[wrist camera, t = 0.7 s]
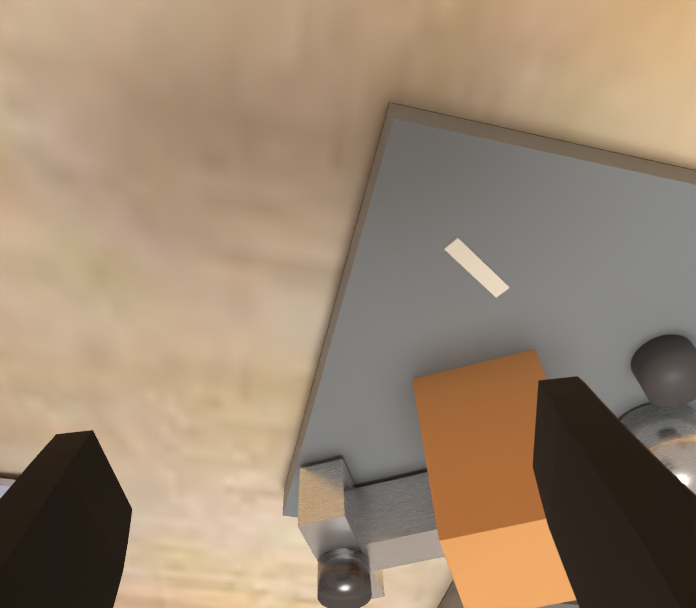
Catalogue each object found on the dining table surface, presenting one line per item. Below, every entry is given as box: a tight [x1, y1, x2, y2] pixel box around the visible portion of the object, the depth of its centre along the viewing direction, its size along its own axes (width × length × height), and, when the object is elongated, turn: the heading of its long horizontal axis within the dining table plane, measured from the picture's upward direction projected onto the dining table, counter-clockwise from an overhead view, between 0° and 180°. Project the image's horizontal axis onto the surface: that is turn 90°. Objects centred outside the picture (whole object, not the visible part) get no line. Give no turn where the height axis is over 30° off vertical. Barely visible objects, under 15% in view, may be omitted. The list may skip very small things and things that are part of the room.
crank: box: [298, 404, 696, 608], centre depth 22 cm, size 14×5×4 cm, turn 107°
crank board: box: [283, 103, 696, 517], centre depth 22 cm, size 16×14×2 cm
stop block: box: [412, 349, 576, 608], centre depth 20 cm, size 4×4×6 cm
